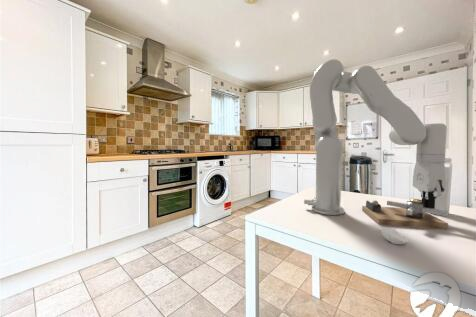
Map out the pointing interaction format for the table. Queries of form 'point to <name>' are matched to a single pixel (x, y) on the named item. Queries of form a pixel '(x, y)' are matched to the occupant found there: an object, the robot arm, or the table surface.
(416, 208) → the capstan
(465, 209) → the table surface
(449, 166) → the milk
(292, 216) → the table surface
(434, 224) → the stand
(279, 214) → the table surface
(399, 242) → the dumpling
